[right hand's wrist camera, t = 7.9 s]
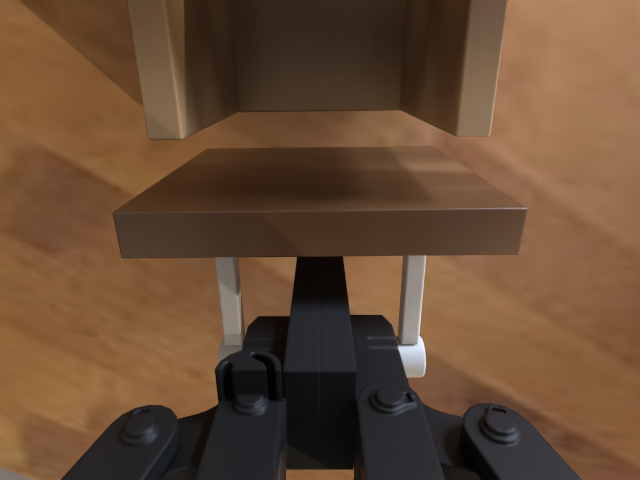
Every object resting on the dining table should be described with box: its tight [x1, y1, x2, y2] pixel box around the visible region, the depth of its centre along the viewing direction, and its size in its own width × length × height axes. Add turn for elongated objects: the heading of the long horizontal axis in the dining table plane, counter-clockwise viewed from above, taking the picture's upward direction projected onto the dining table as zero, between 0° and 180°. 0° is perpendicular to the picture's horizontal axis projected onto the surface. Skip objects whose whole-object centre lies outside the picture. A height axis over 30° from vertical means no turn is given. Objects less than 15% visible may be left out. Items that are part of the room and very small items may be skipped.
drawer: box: [113, 0, 527, 377], centre depth 12 cm, size 23×10×9 cm, turn 1°
